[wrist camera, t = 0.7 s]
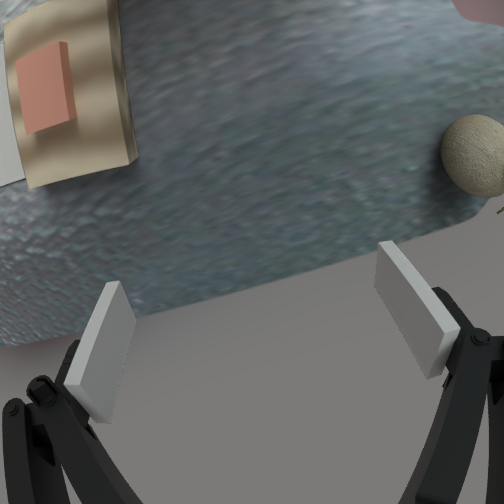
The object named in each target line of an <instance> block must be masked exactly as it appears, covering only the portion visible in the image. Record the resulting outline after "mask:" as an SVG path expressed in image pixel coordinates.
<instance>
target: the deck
mask: <svg viewBox="0 0 504 504" xmlns="http://www.w3.org/2000/svg"><path fill="white" fill-rule="evenodd" d="M58 41H61V42H67V44H68V55H69V64H70V72H71V80H72V87H73V94H74V100H75V107H76V113H77V118H75V119H72V120H69V121H66V122H63V123H60V124H57V125H54V126H51V127H48V128H45V129H43V130H40V131H37V132H34V133H32V134H29V135H26V131H25V126H24V121H23V115H22V109H21V103H20V96H19V89H18V81H17V72H16V61H17V60H19V59H21V58H23V57H25V56H27V55H29V54H31V53H33V52H35V51H37V50H39V49H42V48H44V47H46V46H49V45H51V44H53V43H56V42H58ZM4 43H5V59H6V70H7V80H8V88H9V96H10V103H11V109H12V115H13V121H14V127H15V132H16V137H17V142H18V146H19V151H20V155H21V159H22V163H23V167H24V171H25V175H26V179H27V183H28V186H29V189H32V188H35V187H39V186H42V185H46V184H50V183H53V182H57V181H61V180H65V179H69V178H72V177H76V176H81V175H85V174H89V173H93V172H97V171H102V170H106V169H111V168H116V167H120V166H125V165H129V164H131V163H132V162H133V161H134V160H135V159H136V158H138V157H139V156H138V151H137V145H136V140H135V134H134V129H133V123H132V117H131V111H130V104H129V98H128V91H127V84H126V77H125V69H124V61H123V53H122V44H121V34H120V23H119V11H118V0H50V1H48V2H45V3H43V4H41V5H39V6H37V7H35V8H33V9H31V10H29V11H27V12H25V13H23V14H22V15H20V16H18V17H16V18H14V19H12V20H11V21H9V22H7V23H5V24H4Z"/></svg>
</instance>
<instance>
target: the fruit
mask: <svg viewBox="0 0 504 504" xmlns="http://www.w3.org/2000/svg"><path fill="white" fill-rule="evenodd" d="M441 159H442V163H443V166H444V168H445V170H446V172H447V173H448V175H449V176H450V178H451V179H452V180H453V182H454V183H455V184H456V185H457V186H458V187H460V188H461V189H462V190H464V191H465V192H467V193H469V194H471V195H473V196H476V197H479V198H492V197H497V196H500V195H502V194H503V193H504V127H503V126H502V125H501V124H500V123H498V122H497V121H495V120H493V119H491V118H489V117H486V116H482V115H467V116H464V117H461V118H459V119H457V120H455V121H454V122H453V123H452V124H451V125H450V126H449V127H448V128H447V130H446V132H445V134H444V136H443V139H442V143H441ZM502 211H504V207H503V208H502V209H501V210H499V211H498V212H497V214H499V213H500V212H502Z"/></svg>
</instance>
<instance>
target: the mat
mask: <svg viewBox="0 0 504 504" xmlns="http://www.w3.org/2000/svg"><path fill="white" fill-rule="evenodd" d="M24 178H26V175H25V171H24V167H23V163H22V159H21V155H20V151H19V146H18V142H17V137H16V132H15V127H14V121H13V115H12V109H11V103H10V96H9V88H8V80H7V70H6V59H5V43H4V42H3V43H1V44H0V186H3V185H6V184H9V183H12V182H15V181H18V180H21V179H24Z"/></svg>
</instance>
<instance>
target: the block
mask: <svg viewBox="0 0 504 504" xmlns="http://www.w3.org/2000/svg"><path fill="white" fill-rule="evenodd" d="M16 72H17V81H18V89H19V96H20V103H21V109H22V115H23V121H24V126H25V131H26V135H29V134H32V133H34V132H37V131H40V130H43V129H45V128H48V127H51V126H54V125H57V124H60V123H63V122H66V121H69V120H72V119H75V118H77V113H76V107H75V100H74V94H73V87H72V80H71V72H70V64H69V55H68V44H67V42H61V41H58V42H56V43H53V44H51V45H49V46H46V47H44V48H42V49H39V50H37V51H35V52H33V53H31V54H29V55H27V56H25V57H23V58H21V59H19V60H17V61H16Z"/></svg>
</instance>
